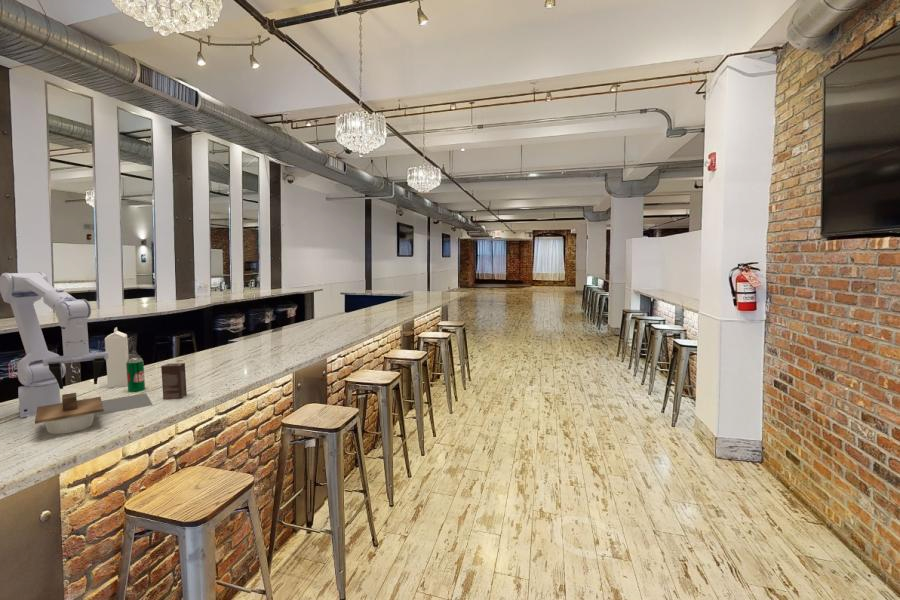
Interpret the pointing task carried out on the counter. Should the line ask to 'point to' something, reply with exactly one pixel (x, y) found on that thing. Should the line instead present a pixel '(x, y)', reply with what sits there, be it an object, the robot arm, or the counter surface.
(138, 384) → the soda can
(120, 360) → the milk
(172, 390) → the box
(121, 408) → the mat
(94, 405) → the lid
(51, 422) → the ramekin
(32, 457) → the counter surface
